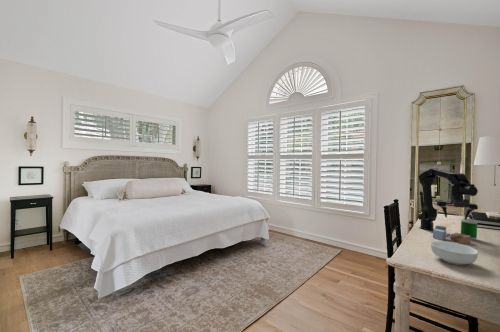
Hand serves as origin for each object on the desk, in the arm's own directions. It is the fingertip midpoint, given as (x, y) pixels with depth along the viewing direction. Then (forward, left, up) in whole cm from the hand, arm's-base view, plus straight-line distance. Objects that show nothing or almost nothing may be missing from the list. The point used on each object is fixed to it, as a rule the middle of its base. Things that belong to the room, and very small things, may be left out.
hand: (455, 218), depth 149 cm
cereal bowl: (+16, -44, -13) cm, 48 cm away
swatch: (-3, +2, -13) cm, 13 cm away
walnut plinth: (+4, -3, -13) cm, 14 cm away
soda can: (+3, +10, -13) cm, 17 cm away
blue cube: (-5, -7, -13) cm, 16 cm away
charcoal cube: (-9, +4, -13) cm, 16 cm away
